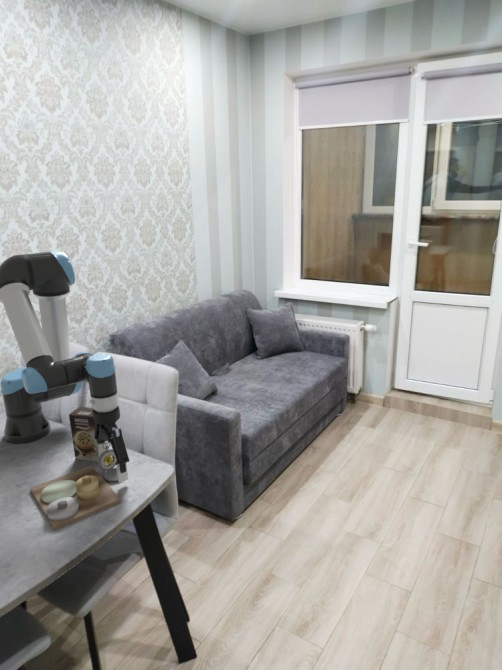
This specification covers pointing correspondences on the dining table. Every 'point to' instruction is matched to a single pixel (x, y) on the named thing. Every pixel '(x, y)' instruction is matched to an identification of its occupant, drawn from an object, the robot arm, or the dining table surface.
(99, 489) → the tray
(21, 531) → the dining table surface
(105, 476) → the pocket watch
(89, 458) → the coffee box
